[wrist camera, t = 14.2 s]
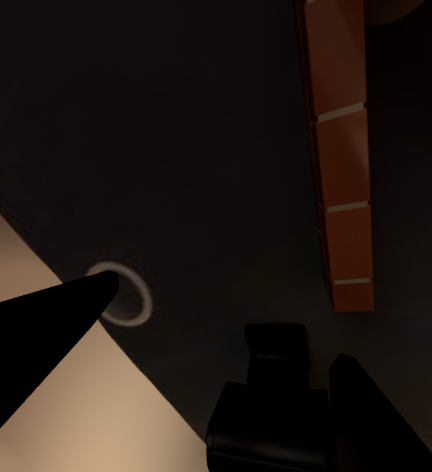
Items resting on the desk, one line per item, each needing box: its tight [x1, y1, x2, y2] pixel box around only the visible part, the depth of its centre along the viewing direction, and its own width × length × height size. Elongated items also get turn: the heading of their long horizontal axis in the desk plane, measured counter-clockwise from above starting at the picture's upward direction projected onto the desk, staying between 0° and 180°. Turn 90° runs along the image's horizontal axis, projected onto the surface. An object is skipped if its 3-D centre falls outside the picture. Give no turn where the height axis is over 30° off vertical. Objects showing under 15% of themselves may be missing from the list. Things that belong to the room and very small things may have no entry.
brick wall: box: [292, 0, 374, 312], centre depth 15 cm, size 22×3×4 cm, turn 15°
